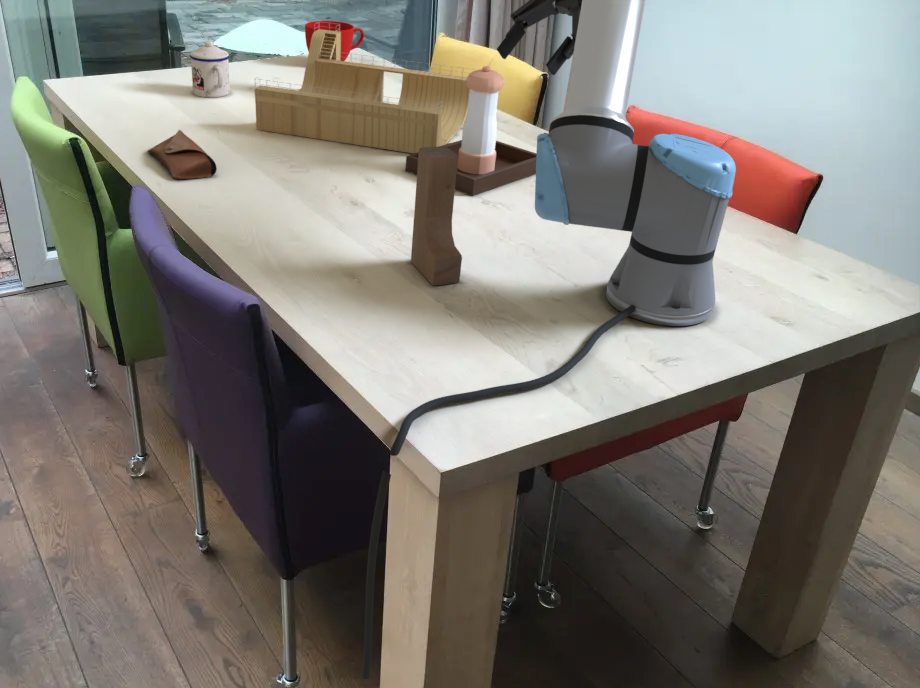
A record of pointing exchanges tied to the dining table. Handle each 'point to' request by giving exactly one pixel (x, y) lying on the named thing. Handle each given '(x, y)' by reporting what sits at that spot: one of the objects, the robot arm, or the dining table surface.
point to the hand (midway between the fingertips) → (524, 62)
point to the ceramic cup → (345, 30)
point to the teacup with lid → (210, 71)
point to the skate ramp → (364, 102)
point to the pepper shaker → (480, 122)
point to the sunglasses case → (184, 158)
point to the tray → (507, 170)
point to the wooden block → (435, 217)
